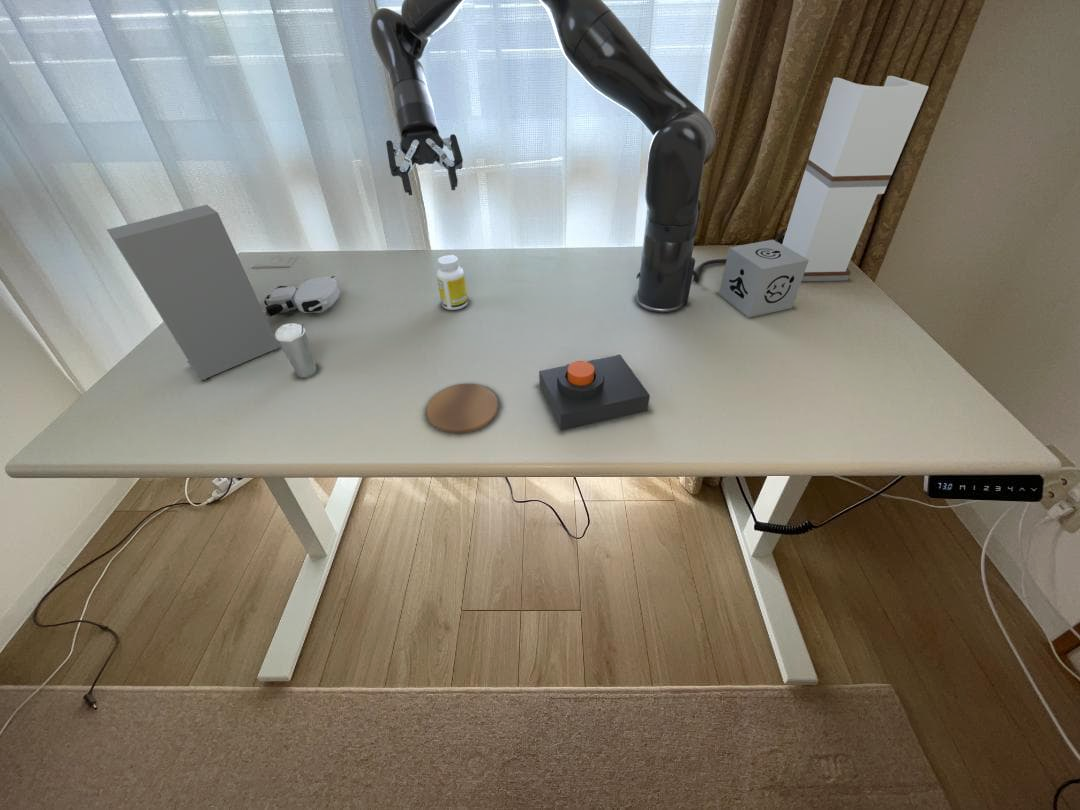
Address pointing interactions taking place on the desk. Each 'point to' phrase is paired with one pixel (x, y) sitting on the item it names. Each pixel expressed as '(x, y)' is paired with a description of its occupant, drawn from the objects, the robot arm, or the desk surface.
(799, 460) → the desk surface
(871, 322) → the desk surface
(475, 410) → the coaster
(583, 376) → the orange button
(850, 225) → the white striped pillar
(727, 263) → the icon cube
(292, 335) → the milkshake
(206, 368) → the tall grey upright panel
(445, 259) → the supplement bottle
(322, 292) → the robot toy
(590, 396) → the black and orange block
